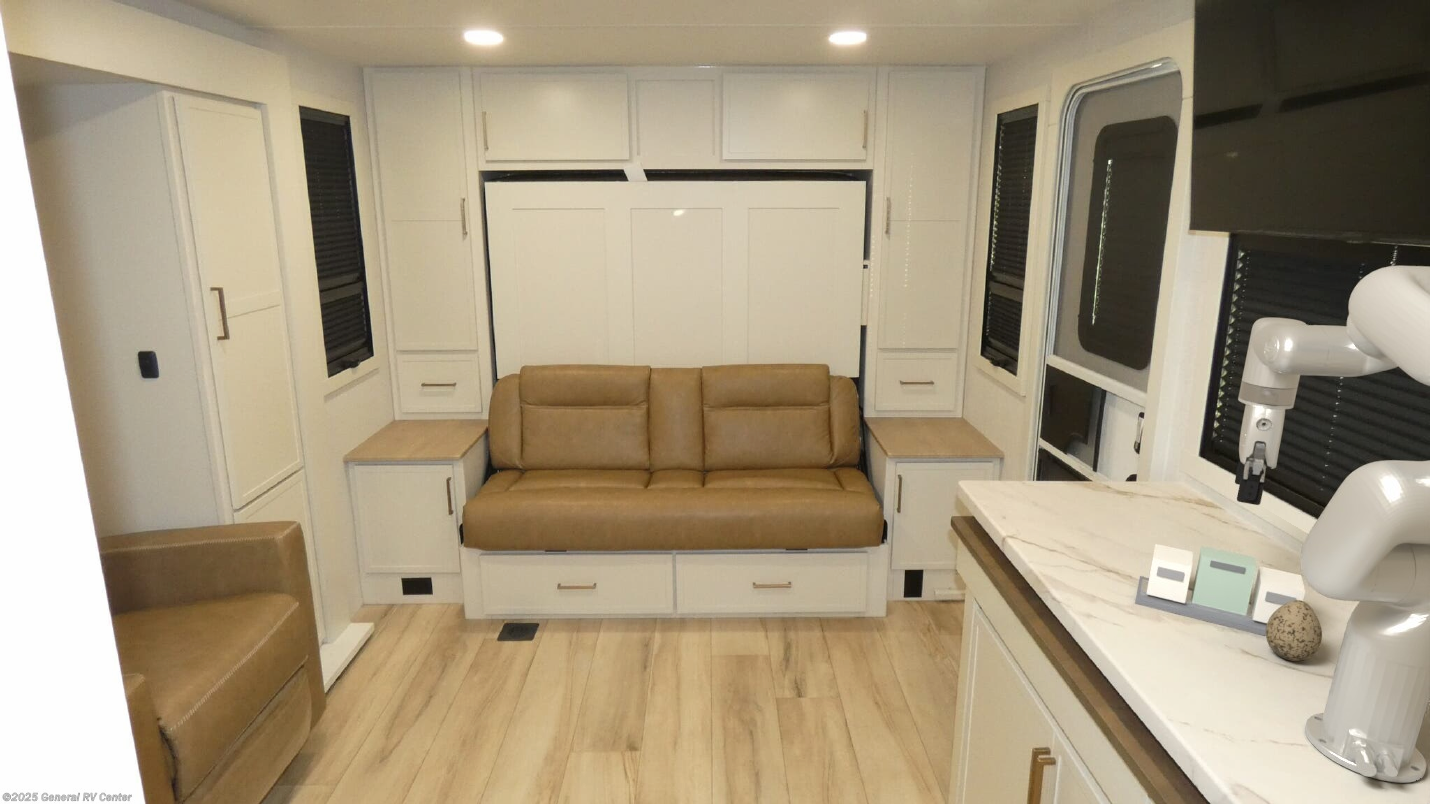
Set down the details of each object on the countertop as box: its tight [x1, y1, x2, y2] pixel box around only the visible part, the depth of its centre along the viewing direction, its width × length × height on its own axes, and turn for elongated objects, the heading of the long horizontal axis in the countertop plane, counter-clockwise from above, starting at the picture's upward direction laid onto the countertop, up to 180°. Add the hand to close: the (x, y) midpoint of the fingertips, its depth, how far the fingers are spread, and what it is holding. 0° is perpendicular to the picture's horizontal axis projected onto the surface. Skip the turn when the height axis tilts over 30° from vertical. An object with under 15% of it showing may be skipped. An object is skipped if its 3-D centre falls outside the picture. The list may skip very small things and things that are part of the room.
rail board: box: [1134, 543, 1306, 637], centre depth 140 cm, size 10×25×9 cm, turn 59°
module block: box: [1192, 545, 1257, 615], centre depth 139 cm, size 5×8×9 cm, turn 60°
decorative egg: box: [1265, 600, 1323, 662], centre depth 126 cm, size 7×7×10 cm
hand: (1246, 493), depth 134 cm, fingers open, 9 cm apart
